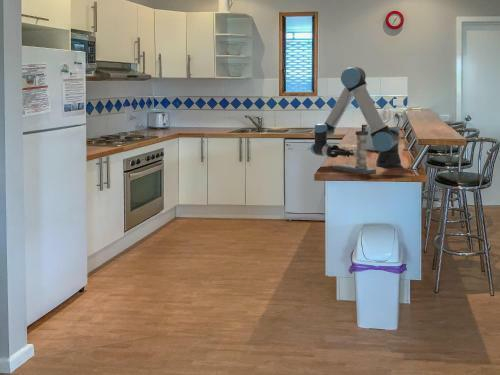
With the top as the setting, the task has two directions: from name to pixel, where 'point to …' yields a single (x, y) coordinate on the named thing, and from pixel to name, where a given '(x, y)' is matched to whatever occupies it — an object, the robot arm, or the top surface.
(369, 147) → the soap bottle
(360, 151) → the lever
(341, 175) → the top surface
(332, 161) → the top surface
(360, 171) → the fader console
